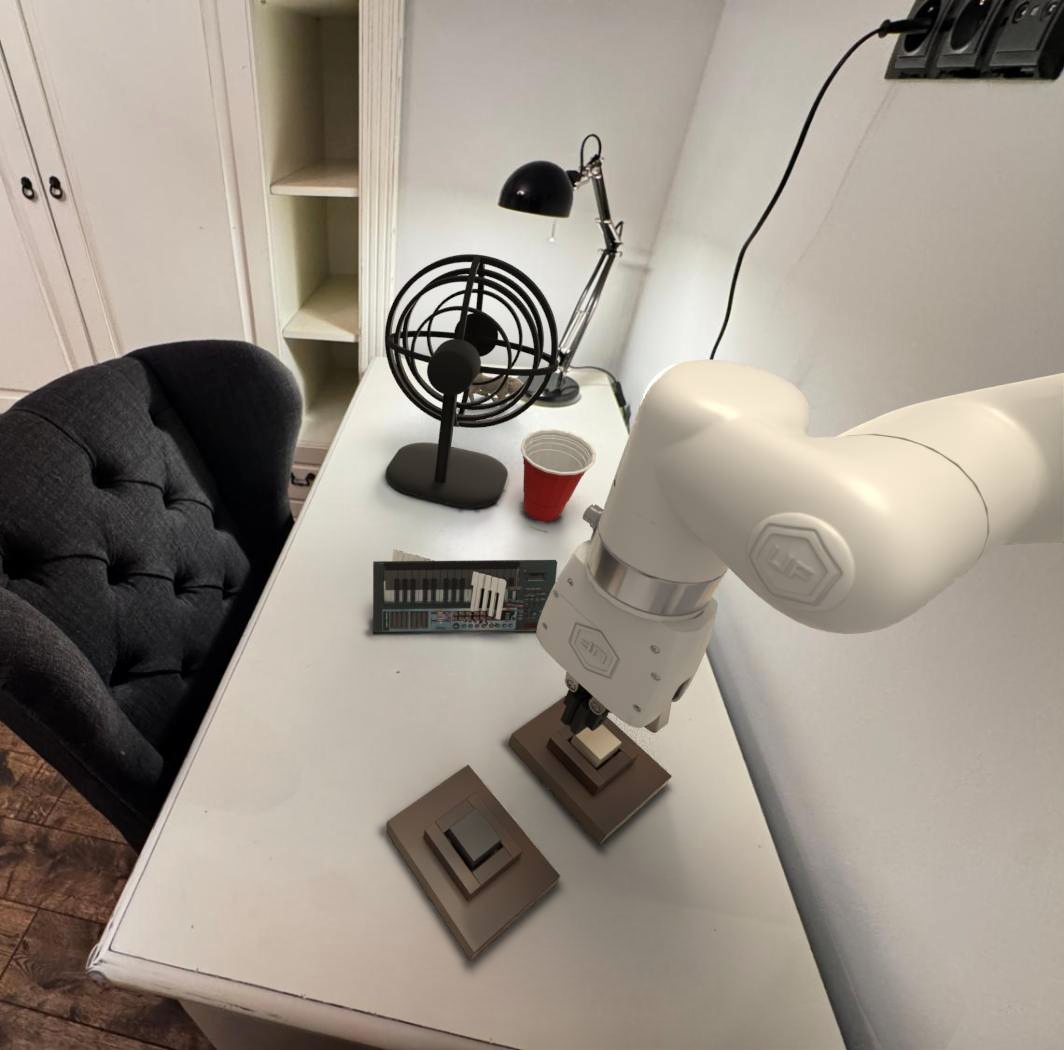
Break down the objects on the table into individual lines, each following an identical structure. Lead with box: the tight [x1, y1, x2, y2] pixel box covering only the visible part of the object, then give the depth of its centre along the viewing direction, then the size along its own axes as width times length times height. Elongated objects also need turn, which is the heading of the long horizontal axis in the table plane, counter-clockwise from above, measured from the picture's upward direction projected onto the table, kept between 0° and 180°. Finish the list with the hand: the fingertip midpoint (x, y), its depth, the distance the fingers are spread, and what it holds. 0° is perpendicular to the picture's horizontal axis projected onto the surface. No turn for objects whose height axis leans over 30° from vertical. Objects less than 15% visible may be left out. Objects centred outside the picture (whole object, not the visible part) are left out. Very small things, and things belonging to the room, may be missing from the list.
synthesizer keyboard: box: [372, 548, 558, 633], centre depth 71 cm, size 22×10×10 cm
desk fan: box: [384, 253, 560, 509], centre depth 88 cm, size 27×18×35 cm, turn 67°
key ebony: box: [448, 808, 502, 869], centre depth 49 cm, size 3×3×2 cm
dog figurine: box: [468, 373, 527, 408], centre depth 117 cm, size 12×6×7 cm, turn 74°
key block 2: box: [508, 695, 673, 845], centre depth 58 cm, size 12×10×4 cm
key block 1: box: [385, 764, 561, 961], centre depth 51 cm, size 12×10×4 cm
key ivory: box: [570, 725, 621, 768], centre depth 56 cm, size 3×3×2 cm
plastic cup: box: [520, 428, 597, 522], centre depth 87 cm, size 11×11×12 cm
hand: (580, 719), depth 48 cm, fingers closed
